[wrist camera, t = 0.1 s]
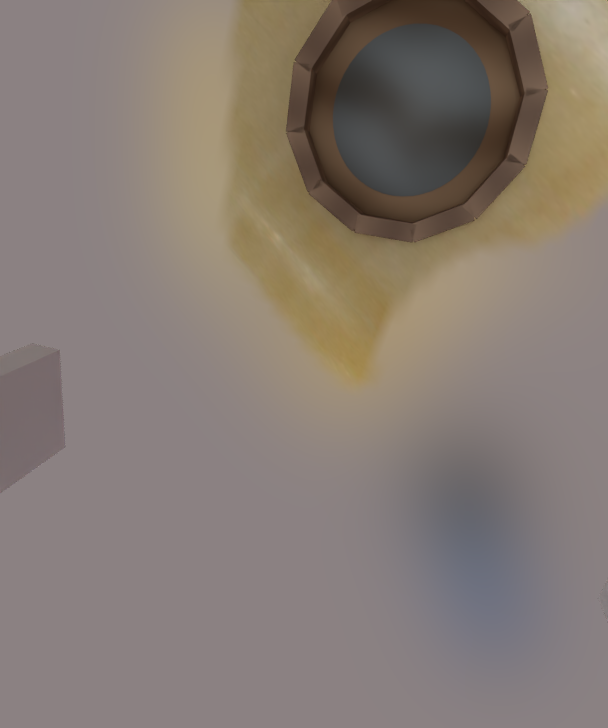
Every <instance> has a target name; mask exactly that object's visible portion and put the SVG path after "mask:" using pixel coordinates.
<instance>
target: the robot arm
mask: <svg viewBox="0 0 608 728" xmlns="http://www.w3.org/2000/svg"><path fill="white" fill-rule="evenodd" d="M63 448H65V433H64V415H63V398H62V380H61V363H60V350H58V349H54V348H50V347H45V346H41V345H37V344H33V343H32V344H30V345H27V346H24V347H22V348H19V349H17V350H14V351H12V352H9V353H7V354H4V355H2V356H0V493H2V492H3V491H4V490H6V489H7V488H9V487H10V486H11V485H13V484H14V483H16V482H17V481H18V480H20V479H21V478H23V477H24V476H25V475H27V474H28V473H30V472H31V471H32V470H34V469H35V468H37V467H38V466H39V465H41V464H42V463H44V462H45V461H46V460H48V459H49V458H50V457H52V456H54V455H55V454H56V453H58V452H59V451H60V450H62V449H63ZM598 599H599V602H600V604H601V606H602V609H603V611H604V614H605V617H606V619H607V622H608V579H607V581H606V583H605V585H604V587H603V589H602V591H601V593H600V595H599V597H598Z"/></svg>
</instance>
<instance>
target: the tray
mask: <svg viewBox="0 0 608 728" xmlns="http://www.w3.org/2000/svg"><path fill="white" fill-rule="evenodd" d="M528 14H529V11H528V10H527V9H526V8H525V7H524V6H523V5H522V4H521V3H519V2H518V1H517V0H332V1H331V2H330V4H329V6H328V7H327V9H326V10H325V12H324V14H323V15H322V17H321V18H320V20H319V22H318V23H317V25H316V26H315V28H314V30H313V31H312V33H311V34H310V36H309V38H308V39H307V41H306V42H305V44H304V46H303V47H302V49H301V50H300V52H299V54H298V55H297V57H296V58H295V61H296V62H294V65H293V74H292V83H291V92H290V100H289V109H288V118H287V127H286V131H287V132H288V133H286V134H287V136H288V139H289V142H290V145H291V147H292V150H293V153H294V156H295V158H296V161H297V164H298V167H299V169H300V172H301V175H302V178H303V180H304V183H305V186H306V189H307V191H308V192H310V193H309V194H310V195H311V196H312V197H313V198H314V199H316V200H317V201H318V202H319V203H320V204H321V205H323V206H324V207H325V208H326V209H327V210H328V211H329V212H331V213H332V214H333V215H334V216H335V217H336V218H338V219H339V220H340V221H341V222H342V223H343V224H345V225H346V226H347V227H348V228H349V229H350V230H351V231H355V233H360V234H366V235H372V236H378V237H384V238H389V239H395V240H401V241H407V242H413V240H414V242H417V241H419V240H422V239H425V238H428V237H430V236H433V235H436V234H438V233H441V232H444V231H447V230H449V229H452V228H455V227H458V226H460V225H463V224H466V223H469V222H471V221H474V218H476V219H477V218H478V217H479V216H480V215H481V214H482V213H483V212H484V210H485V209H486V208H487V207H488V206H489V205H490V204H491V203H492V202H493V201H494V200H495V199H496V197H497V196H498V195H499V194H500V193H501V192H502V191H503V190H504V189H505V188H506V187H507V186H508V184H509V183H510V182H511V181H512V180H513V179H514V178H515V177H516V176H517V175H518V174H519V173H520V171H521V170H522V169H523V168H524V167H525V166H524V165H525V164H527V160H528V157H529V154H530V150H531V147H532V143H533V140H534V136H535V133H536V129H537V126H538V123H539V119H540V116H541V112H542V109H543V105H544V102H545V98H546V95H547V92H548V90H546V89H547V88H548V86H547V81H546V77H545V73H544V69H543V64H542V60H541V56H540V51H539V47H538V43H537V38H536V34H535V30H534V25H533V21H532V17H531V14H529V15H528Z"/></svg>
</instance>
